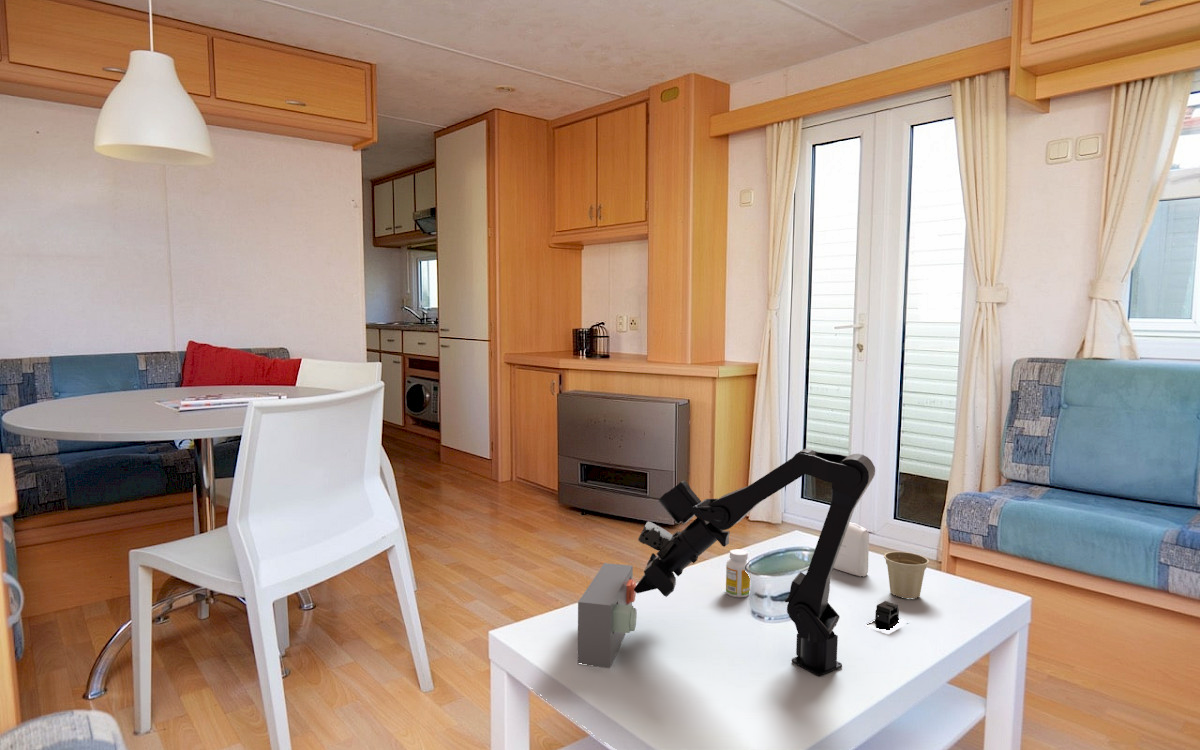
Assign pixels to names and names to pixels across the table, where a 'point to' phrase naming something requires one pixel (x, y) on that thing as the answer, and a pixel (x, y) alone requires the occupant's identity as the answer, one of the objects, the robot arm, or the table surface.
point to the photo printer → (854, 551)
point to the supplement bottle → (737, 574)
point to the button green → (624, 618)
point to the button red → (631, 591)
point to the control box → (602, 615)
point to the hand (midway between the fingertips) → (635, 591)
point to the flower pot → (905, 573)
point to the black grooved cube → (885, 616)
